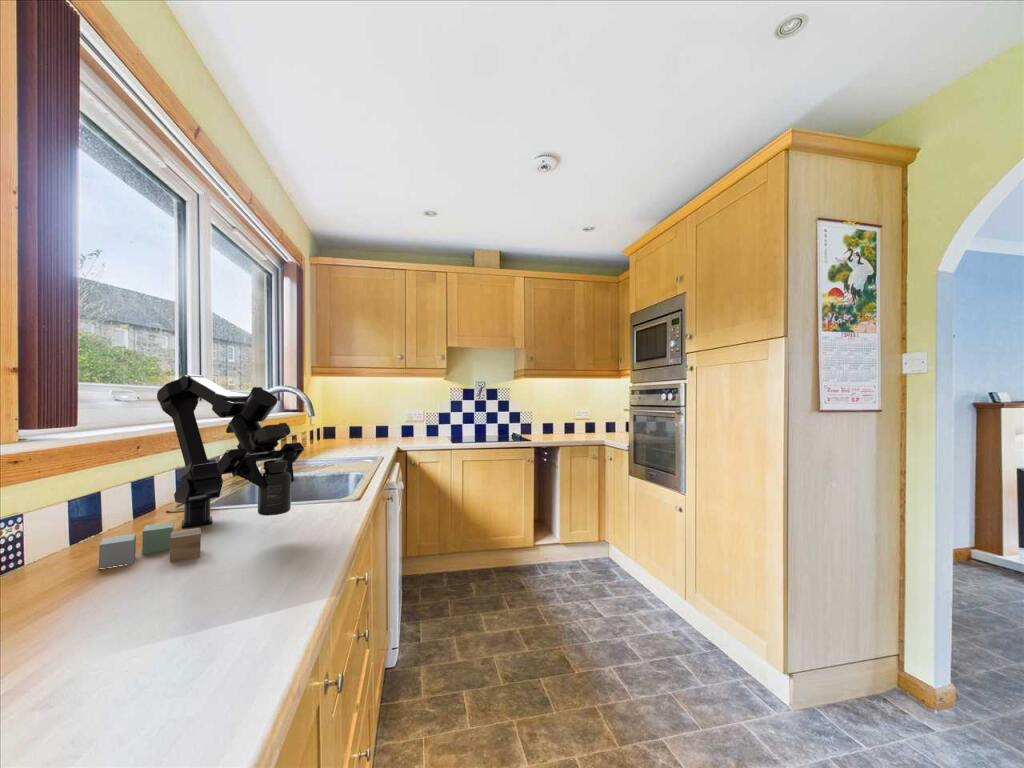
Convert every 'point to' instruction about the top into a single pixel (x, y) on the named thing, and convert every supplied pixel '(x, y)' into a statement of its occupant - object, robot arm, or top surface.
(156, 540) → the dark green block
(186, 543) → the walnut block
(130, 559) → the slate grey block
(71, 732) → the top surface
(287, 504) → the supplement bottle
